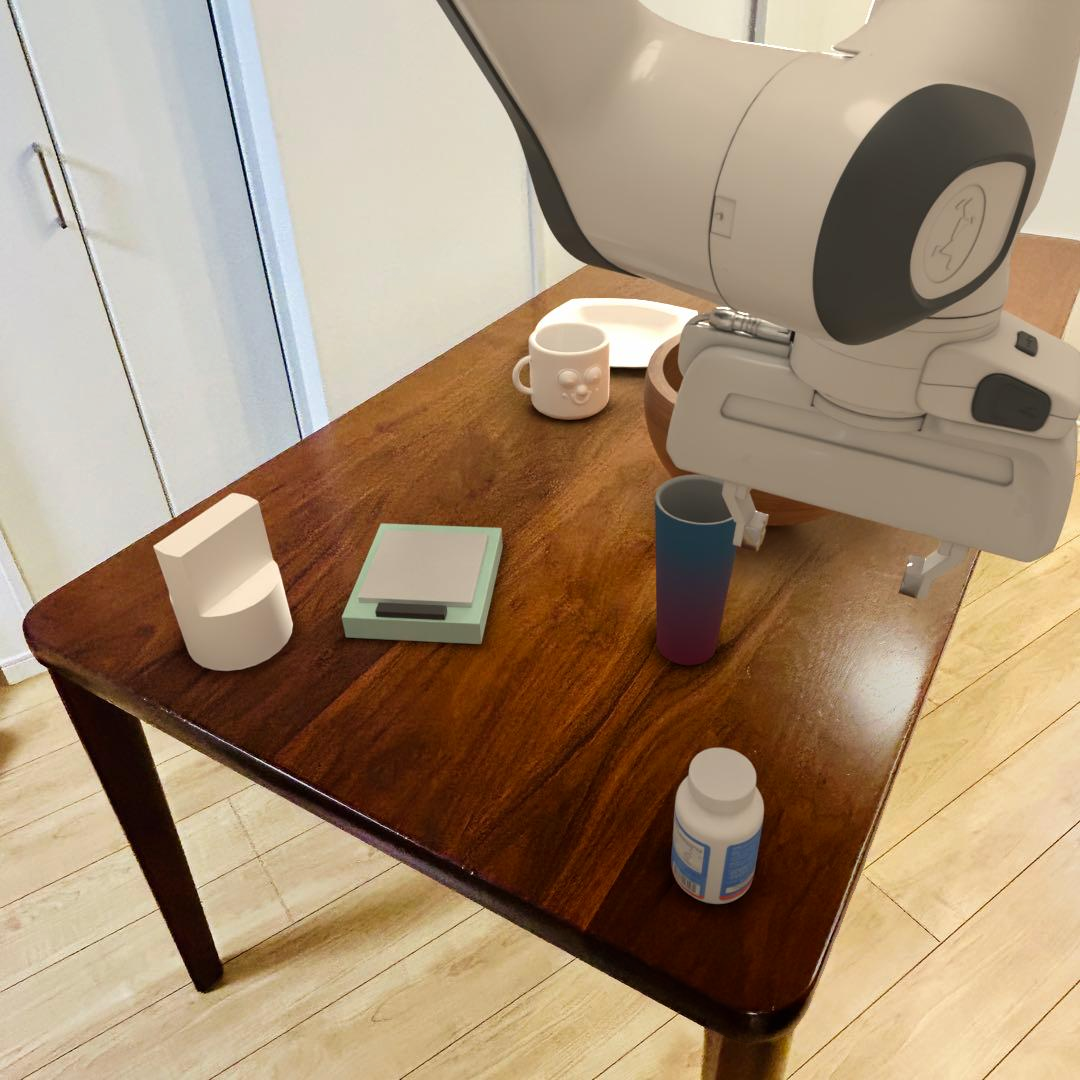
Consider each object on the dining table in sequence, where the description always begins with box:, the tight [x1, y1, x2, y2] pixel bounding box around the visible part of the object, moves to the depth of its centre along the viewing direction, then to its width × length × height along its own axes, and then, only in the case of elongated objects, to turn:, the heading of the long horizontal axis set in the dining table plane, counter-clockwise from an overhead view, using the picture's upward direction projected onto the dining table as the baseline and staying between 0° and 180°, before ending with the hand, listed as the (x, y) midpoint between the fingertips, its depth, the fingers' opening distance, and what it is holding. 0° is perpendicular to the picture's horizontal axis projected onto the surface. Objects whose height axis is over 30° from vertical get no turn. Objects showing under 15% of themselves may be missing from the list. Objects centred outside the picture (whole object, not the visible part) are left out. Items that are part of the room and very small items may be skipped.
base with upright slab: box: [153, 492, 294, 672], centre depth 76 cm, size 9×9×12 cm
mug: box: [511, 322, 611, 421], centre depth 109 cm, size 12×10×9 cm
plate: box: [534, 297, 699, 369], centre depth 126 cm, size 23×23×2 cm
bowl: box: [643, 333, 837, 526], centre depth 89 cm, size 25×25×15 cm
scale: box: [341, 522, 504, 645], centre depth 83 cm, size 14×12×3 cm
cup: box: [654, 475, 738, 666], centre depth 72 cm, size 7×7×15 cm
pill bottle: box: [670, 747, 765, 905], centre depth 57 cm, size 6×5×10 cm
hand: (827, 566), depth 52 cm, fingers open, 8 cm apart
